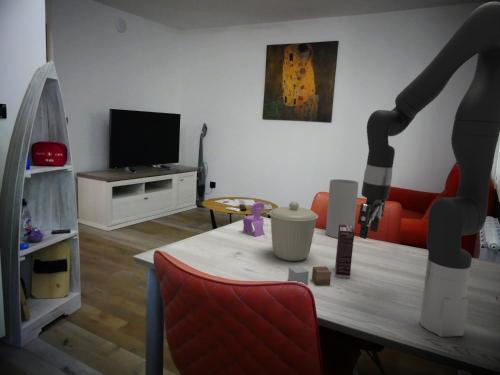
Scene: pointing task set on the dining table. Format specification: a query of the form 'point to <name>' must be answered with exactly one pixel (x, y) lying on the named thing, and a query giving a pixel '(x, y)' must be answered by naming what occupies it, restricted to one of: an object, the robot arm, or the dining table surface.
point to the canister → (292, 231)
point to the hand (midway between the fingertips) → (368, 234)
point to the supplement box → (344, 251)
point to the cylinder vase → (341, 205)
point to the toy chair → (254, 219)
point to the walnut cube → (321, 275)
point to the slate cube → (298, 274)
